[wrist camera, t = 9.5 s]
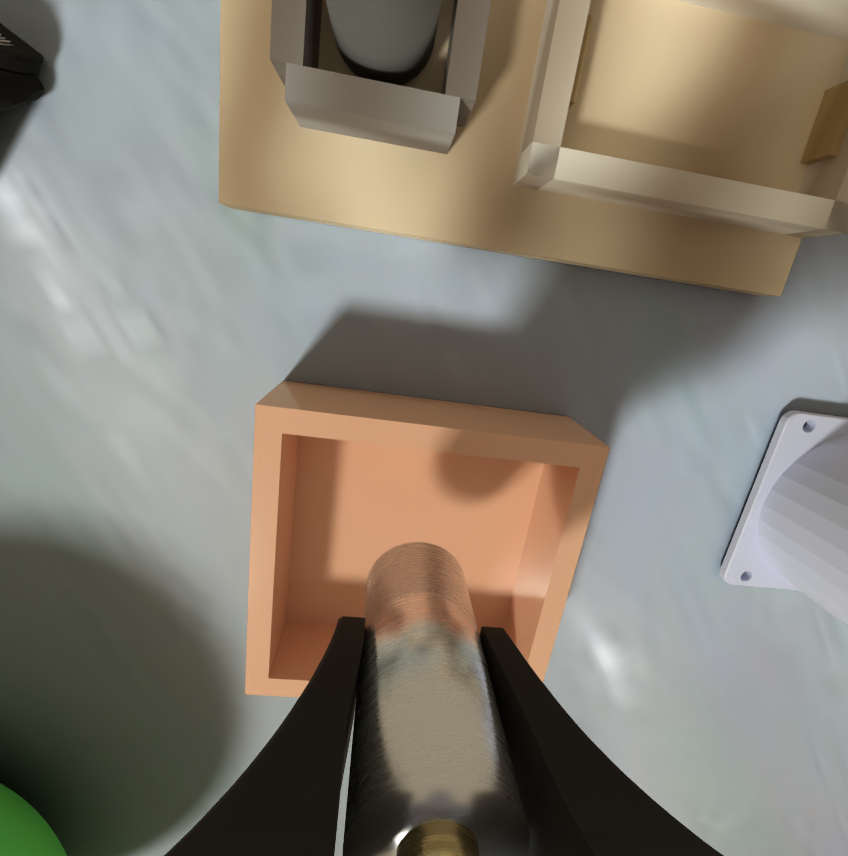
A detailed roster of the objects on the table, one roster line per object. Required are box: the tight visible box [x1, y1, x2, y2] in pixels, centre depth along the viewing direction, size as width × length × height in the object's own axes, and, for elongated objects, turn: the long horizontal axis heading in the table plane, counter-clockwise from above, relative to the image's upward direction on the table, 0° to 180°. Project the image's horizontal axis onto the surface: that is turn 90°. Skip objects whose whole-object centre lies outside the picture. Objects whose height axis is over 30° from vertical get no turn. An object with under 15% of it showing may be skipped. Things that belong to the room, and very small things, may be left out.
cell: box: [343, 542, 530, 856], centre depth 11 cm, size 3×3×8 cm
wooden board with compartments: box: [219, 0, 848, 296], centre depth 13 cm, size 19×10×3 cm, turn 82°
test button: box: [326, 0, 442, 86], centre depth 11 cm, size 3×3×2 cm
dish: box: [245, 380, 610, 697], centre depth 17 cm, size 11×11×4 cm
